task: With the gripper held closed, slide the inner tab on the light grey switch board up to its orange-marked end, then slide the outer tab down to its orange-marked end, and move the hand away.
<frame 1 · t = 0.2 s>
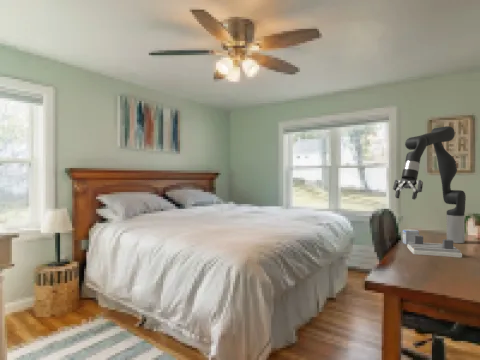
hand: (405, 198, 156), 31 cm above the table, tool tilted 20°, fingers open, 8 cm apart
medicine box: (410, 244, 181), on the table
outer tab: (447, 245, 155), point 5 cm above the table, slide at 6.0 cm
inner tab: (418, 240, 166), point 5 cm above the table, slide at -6.0 cm
switch board: (432, 252, 160), on the table
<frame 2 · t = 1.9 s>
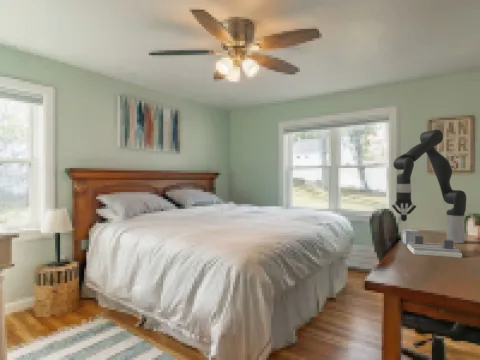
hand: (403, 221, 169), 16 cm above the table, tool pointing down, fingers closed
nothing on the table moved.
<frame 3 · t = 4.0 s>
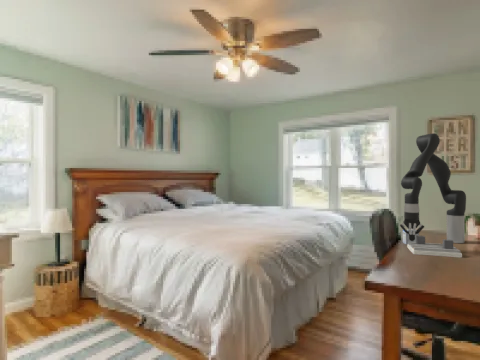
hand: (411, 240, 168), 5 cm above the table, tool pointing down, fingers closed
inner tab: (420, 240, 166), point 5 cm above the table, slide at -5.0 cm, touching gripper
everything else where it was.
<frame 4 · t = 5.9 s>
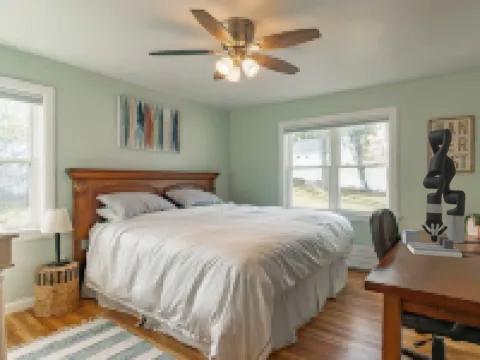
hand: (434, 241, 164), 5 cm above the table, tool pointing down, fingers closed
inner tab: (443, 242, 162), point 5 cm above the table, slide at 6.1 cm, touching gripper
everything else where it was.
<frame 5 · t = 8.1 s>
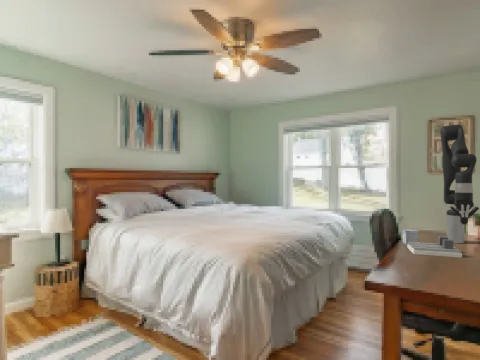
hand: (463, 224, 152), 17 cm above the table, tool pointing down, fingers closed
inner tab: (443, 242, 162), point 5 cm above the table, slide at 6.1 cm
everything else where it was.
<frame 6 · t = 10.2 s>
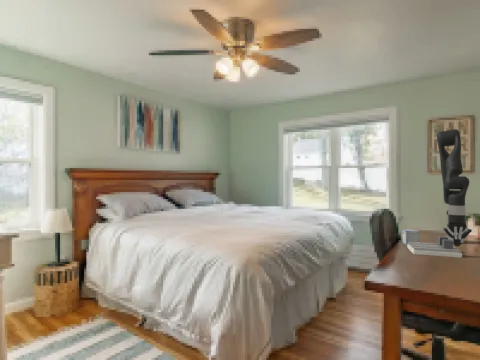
hand: (457, 246, 153), 5 cm above the table, tool pointing down, fingers closed
outer tab: (447, 245, 155), point 5 cm above the table, slide at 5.8 cm, touching gripper
everything else where it was.
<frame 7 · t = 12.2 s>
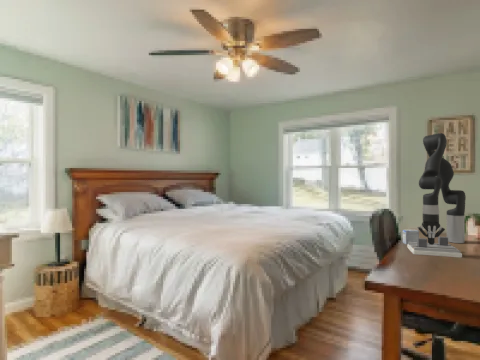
hand: (431, 244, 157), 5 cm above the table, tool pointing down, fingers closed
outer tab: (422, 243, 159), point 5 cm above the table, slide at -6.1 cm, touching gripper
everything else where it was.
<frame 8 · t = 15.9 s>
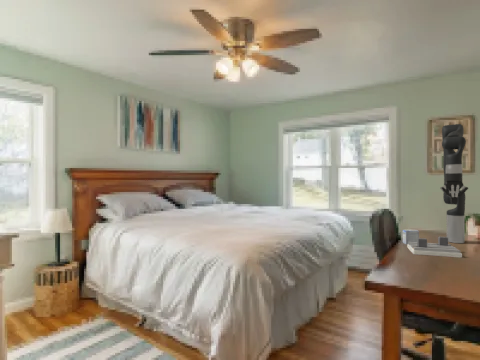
hand: (453, 203, 159), 27 cm above the table, tool pointing down, fingers closed
outer tab: (422, 243, 159), point 5 cm above the table, slide at -6.1 cm
everything else where it was.
at the end: inner tab slide at 6.1 cm; outer tab slide at -6.1 cm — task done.
